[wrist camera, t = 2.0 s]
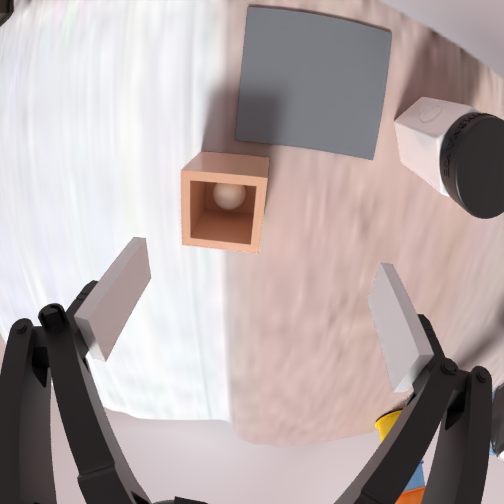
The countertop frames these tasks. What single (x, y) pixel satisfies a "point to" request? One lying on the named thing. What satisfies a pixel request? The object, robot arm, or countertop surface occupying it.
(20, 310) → the countertop surface
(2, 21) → the diary
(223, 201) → the ball
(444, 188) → the jar
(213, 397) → the countertop surface
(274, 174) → the countertop surface
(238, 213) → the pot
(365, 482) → the robot arm
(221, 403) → the countertop surface
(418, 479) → the stacking cups
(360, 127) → the mat
